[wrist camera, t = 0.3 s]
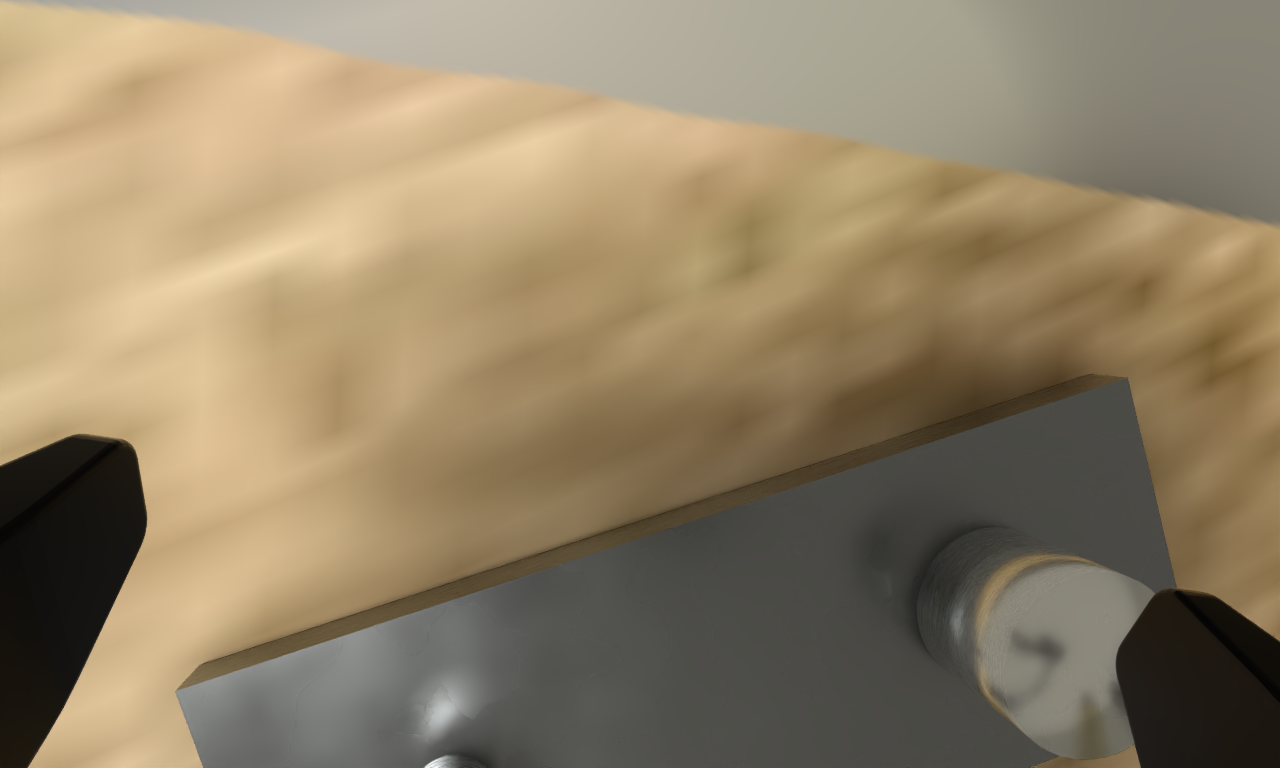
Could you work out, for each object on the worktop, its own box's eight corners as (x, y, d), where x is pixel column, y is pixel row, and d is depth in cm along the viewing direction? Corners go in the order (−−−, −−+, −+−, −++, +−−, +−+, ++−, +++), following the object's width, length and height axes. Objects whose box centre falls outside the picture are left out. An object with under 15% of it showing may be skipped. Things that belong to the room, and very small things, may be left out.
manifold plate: (1161, 678, 25) (1344, 779, 19) (319, 993, 22) (253, 1214, 17) (1089, 374, 24) (1259, 389, 18) (199, 665, 21) (88, 785, 16)
